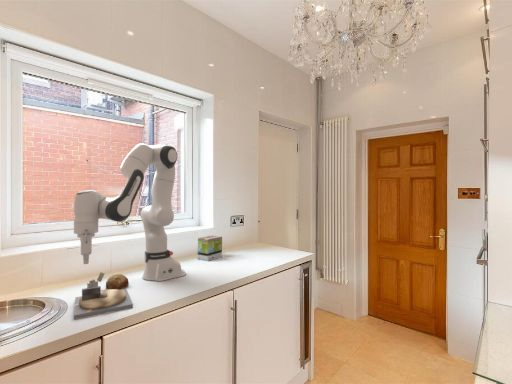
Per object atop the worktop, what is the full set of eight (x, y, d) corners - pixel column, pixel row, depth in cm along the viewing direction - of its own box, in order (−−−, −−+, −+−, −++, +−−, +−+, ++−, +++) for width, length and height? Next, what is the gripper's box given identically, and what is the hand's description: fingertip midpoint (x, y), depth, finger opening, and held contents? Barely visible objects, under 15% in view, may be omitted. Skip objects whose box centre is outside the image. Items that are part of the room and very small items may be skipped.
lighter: (88, 292, 129) (88, 275, 129) (87, 291, 131) (87, 274, 130) (104, 288, 135) (104, 272, 134) (103, 287, 136) (103, 271, 136)
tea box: (208, 261, 186) (208, 239, 186) (197, 259, 192) (197, 237, 192) (222, 256, 199) (222, 236, 199) (211, 255, 205) (211, 234, 204)
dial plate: (126, 292, 130) (126, 288, 130) (132, 307, 113) (132, 303, 113) (75, 300, 120) (75, 296, 120) (73, 319, 103) (73, 314, 103)
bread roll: (105, 294, 137) (98, 281, 135) (123, 280, 145) (116, 267, 142) (116, 298, 132) (109, 285, 129) (134, 283, 140) (128, 271, 137)
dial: (123, 290, 128) (123, 277, 128) (128, 303, 114) (128, 288, 114) (79, 297, 119) (79, 283, 119) (78, 312, 105) (78, 297, 105)
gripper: (95, 231, 111) (95, 266, 111) (94, 225, 128) (94, 255, 128) (76, 232, 107) (76, 268, 107) (77, 226, 125) (77, 257, 125)
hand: (86, 261), depth 118 cm, fingers open, 7 cm apart
